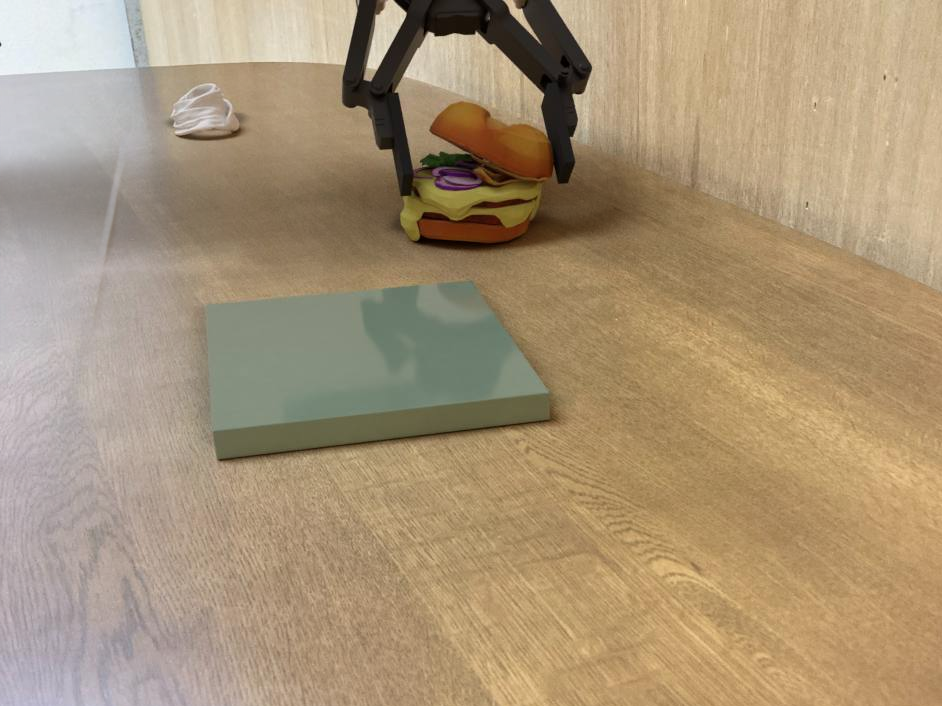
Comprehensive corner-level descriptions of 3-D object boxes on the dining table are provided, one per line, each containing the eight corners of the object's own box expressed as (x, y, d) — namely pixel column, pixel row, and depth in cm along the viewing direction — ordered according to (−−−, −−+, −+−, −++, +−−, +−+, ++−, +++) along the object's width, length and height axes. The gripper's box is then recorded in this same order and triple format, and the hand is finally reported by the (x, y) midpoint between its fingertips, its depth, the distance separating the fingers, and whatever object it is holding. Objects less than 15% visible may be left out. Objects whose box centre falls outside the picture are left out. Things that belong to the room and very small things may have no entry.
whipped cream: (240, 147, 115) (238, 97, 112) (170, 144, 113) (166, 93, 110) (239, 126, 121) (237, 78, 118) (173, 123, 119) (169, 74, 117)
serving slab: (208, 328, 68) (204, 304, 67) (472, 303, 71) (471, 279, 70) (216, 460, 53) (211, 430, 52) (550, 420, 56) (550, 392, 55)
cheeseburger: (375, 222, 87) (395, 84, 83) (500, 238, 92) (524, 109, 88) (424, 255, 79) (449, 104, 75) (557, 271, 84) (587, 130, 80)
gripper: (274, -117, 80) (322, 160, 75) (593, -122, 85) (657, 136, 80) (279, -37, 87) (322, 220, 82) (573, -47, 92) (630, 195, 87)
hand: (488, 179), depth 81 cm, fingers closed on cheeseburger, 11 cm apart
